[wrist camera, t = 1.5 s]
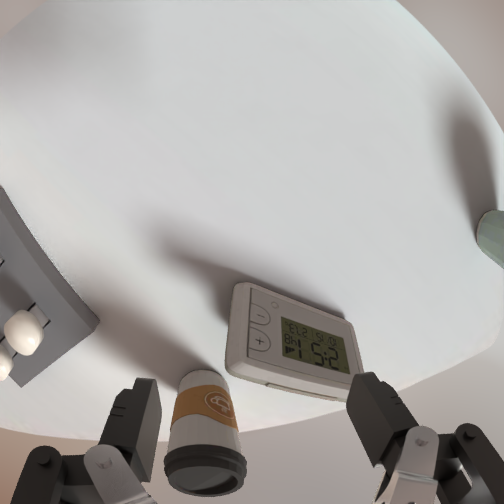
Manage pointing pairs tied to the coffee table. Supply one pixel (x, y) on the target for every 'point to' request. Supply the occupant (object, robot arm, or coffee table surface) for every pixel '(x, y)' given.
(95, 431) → the coffee table surface
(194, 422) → the coffee cup
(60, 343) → the board
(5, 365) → the button
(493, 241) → the disposable coffee cup
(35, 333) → the button
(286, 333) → the digital clock
